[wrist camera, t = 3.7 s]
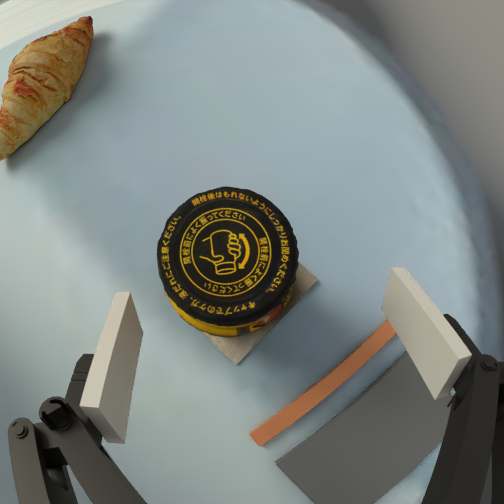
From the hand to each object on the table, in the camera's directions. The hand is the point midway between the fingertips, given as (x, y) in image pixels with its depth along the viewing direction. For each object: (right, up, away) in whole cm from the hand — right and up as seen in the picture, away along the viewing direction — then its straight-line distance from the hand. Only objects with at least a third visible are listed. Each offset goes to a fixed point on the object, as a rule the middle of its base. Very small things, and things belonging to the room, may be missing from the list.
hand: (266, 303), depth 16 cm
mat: (+9, -12, +5) cm, 16 cm away
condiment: (-2, 0, +8) cm, 8 cm away
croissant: (-24, +21, +12) cm, 34 cm away
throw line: (+5, -7, +6) cm, 10 cm away
